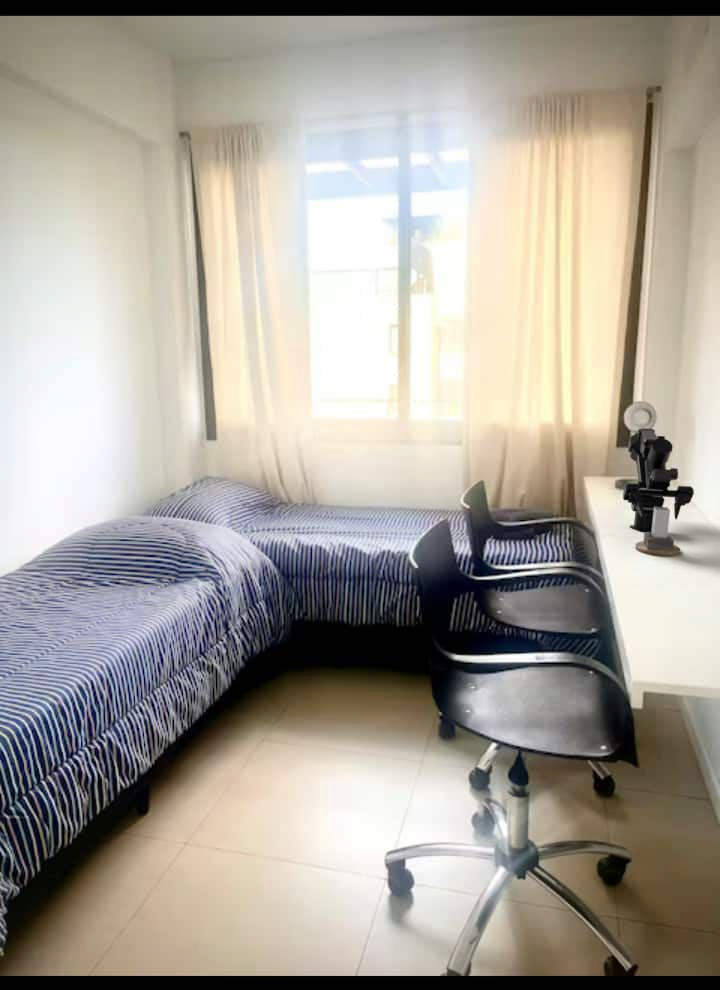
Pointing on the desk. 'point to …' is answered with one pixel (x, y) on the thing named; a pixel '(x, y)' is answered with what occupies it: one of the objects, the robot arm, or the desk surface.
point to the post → (660, 523)
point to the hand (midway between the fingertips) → (659, 517)
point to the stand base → (657, 546)
